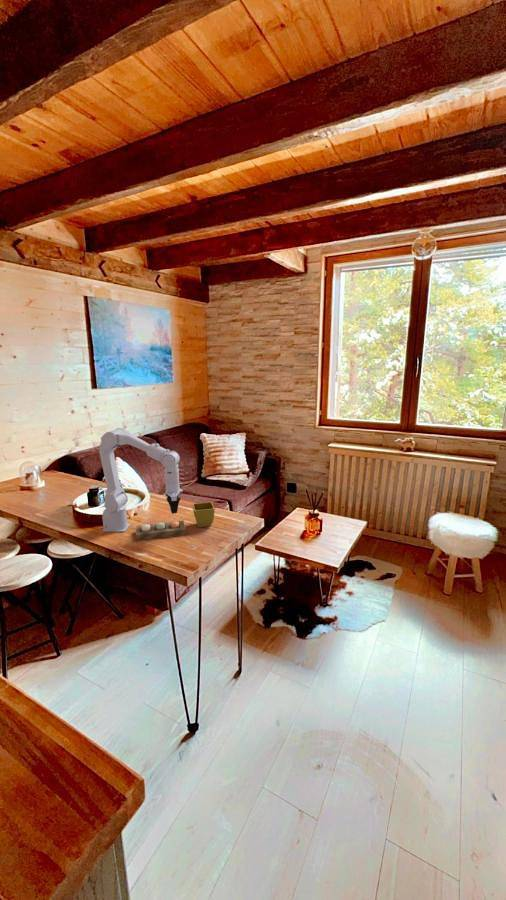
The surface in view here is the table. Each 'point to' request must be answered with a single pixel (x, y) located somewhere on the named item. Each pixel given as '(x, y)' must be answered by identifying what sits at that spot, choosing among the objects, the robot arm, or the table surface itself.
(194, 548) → the table surface
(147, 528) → the cream button
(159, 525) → the sage button
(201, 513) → the flower pot
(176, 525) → the orange button
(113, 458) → the robot arm
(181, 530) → the button board
